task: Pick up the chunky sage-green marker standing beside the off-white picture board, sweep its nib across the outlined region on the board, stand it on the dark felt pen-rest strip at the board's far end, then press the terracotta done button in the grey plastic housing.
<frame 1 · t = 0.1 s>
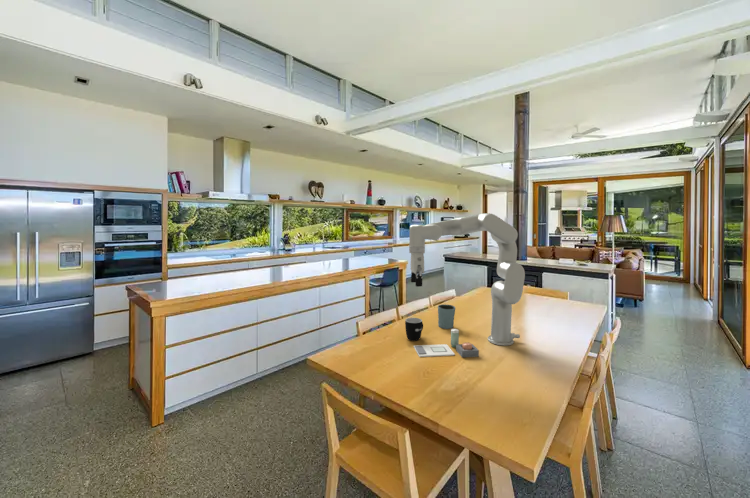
hand: (416, 284, 166), 31 cm above the table, fingers open, 9 cm apart
mug: (415, 338, 179), on the table
blue-gray cup: (446, 326, 197), on the table
button housing: (467, 353, 159), on the table
picture board: (433, 350, 162), on the table
marker: (454, 346, 168), on the table
done button: (467, 347, 159), point 3 cm above the table, slide at 0.0 cm
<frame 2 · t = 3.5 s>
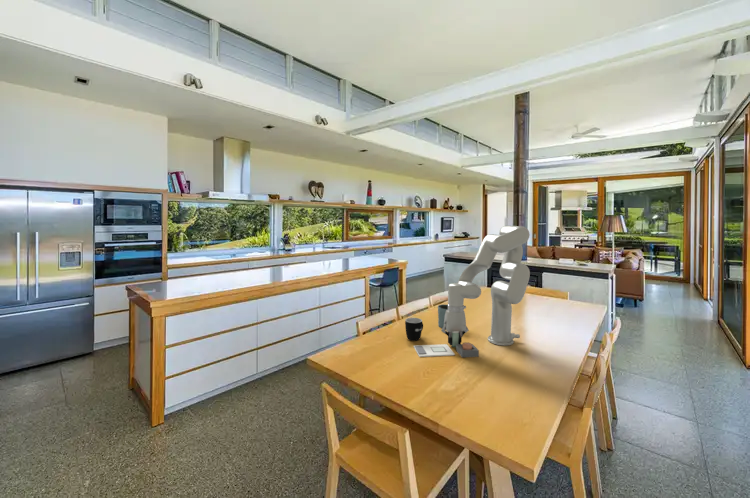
hand: (454, 343, 167), 1 cm above the table, fingers closed on marker, 3 cm apart
marker: (454, 346, 168), on the table, touching gripper
everything else where it was.
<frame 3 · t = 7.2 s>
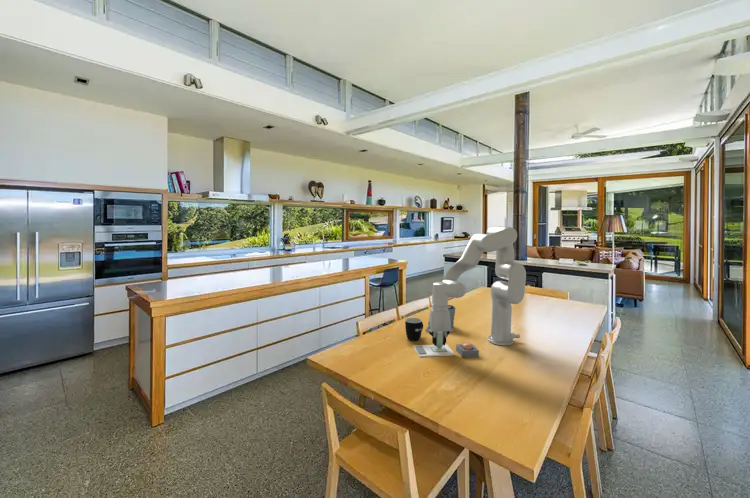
hand: (439, 344, 163), 3 cm above the table, fingers closed on marker, 3 cm apart
marker: (439, 346, 163), point 1 cm above the table, touching gripper
everything else where it was.
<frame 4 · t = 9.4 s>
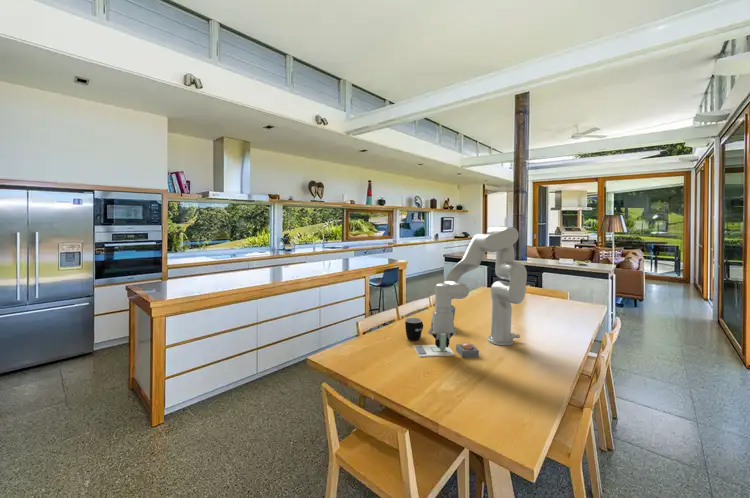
hand: (442, 346, 161), 3 cm above the table, fingers closed on marker, 3 cm apart
marker: (442, 348, 161), point 1 cm above the table, touching gripper
everything else where it was.
when the fingers open (3 cm above the table, at t = 11.1 s): marker stays where it is, resting on picture board.
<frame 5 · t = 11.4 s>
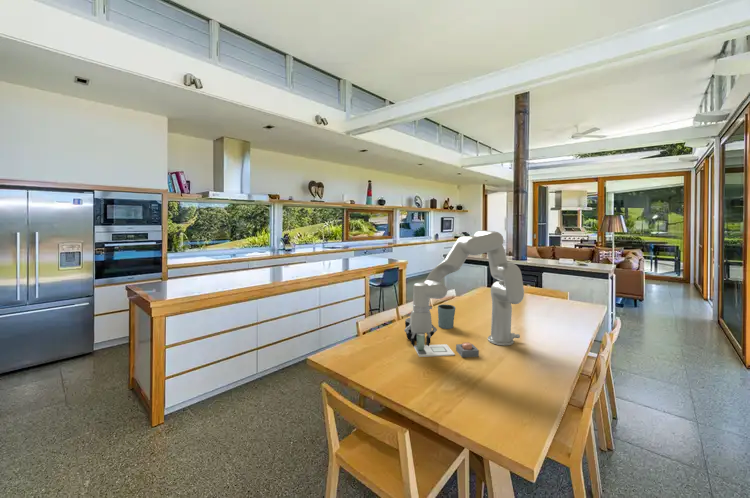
hand: (420, 344, 161), 3 cm above the table, fingers open, 6 cm apart
marker: (420, 349, 161), point 1 cm above the table, touching picture board
everything else where it was.
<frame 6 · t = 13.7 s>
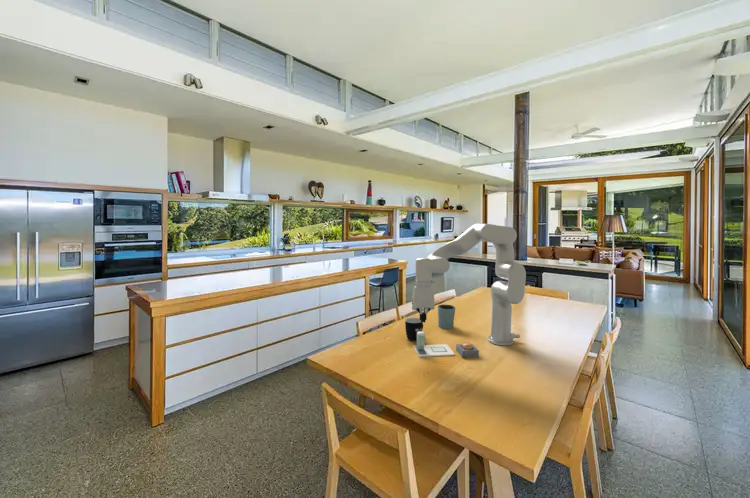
hand: (422, 321, 160), 15 cm above the table, fingers closed
nothing on the table moved.
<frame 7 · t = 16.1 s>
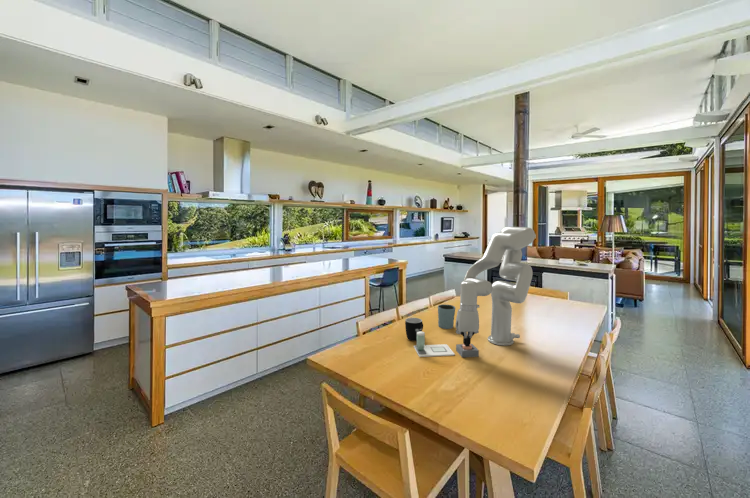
hand: (466, 345, 158), 4 cm above the table, fingers closed
done button: (467, 348, 159), point 3 cm above the table, slide at 0.4 cm, touching gripper
everything else where it was.
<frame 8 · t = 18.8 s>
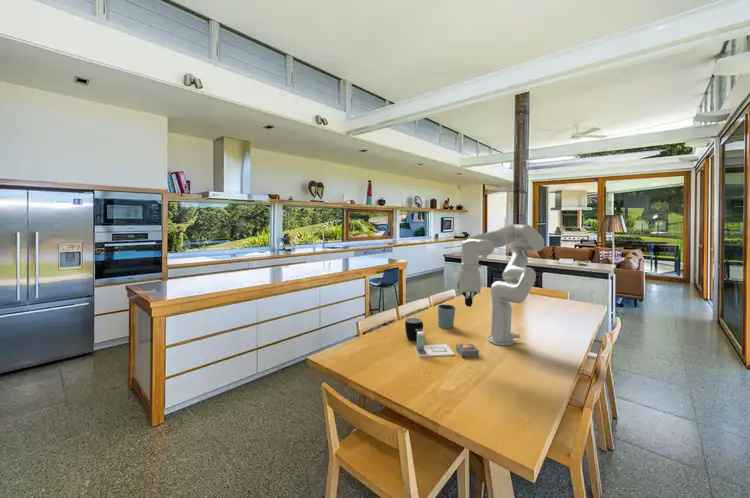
hand: (468, 305, 157), 23 cm above the table, fingers closed
done button: (467, 349, 159), point 2 cm above the table, slide at 1.0 cm
everything else where it was.
at the end: marker inside the target area on the picture board (0.1 cm from its centre), point 1.0 cm above the picture board's base; the gripper is holding nothing; done button slide at 1.0 cm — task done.
